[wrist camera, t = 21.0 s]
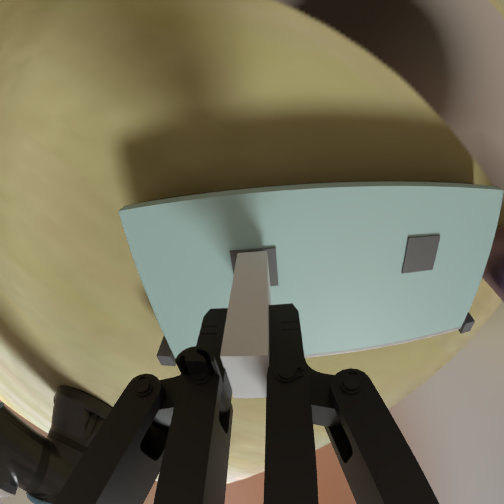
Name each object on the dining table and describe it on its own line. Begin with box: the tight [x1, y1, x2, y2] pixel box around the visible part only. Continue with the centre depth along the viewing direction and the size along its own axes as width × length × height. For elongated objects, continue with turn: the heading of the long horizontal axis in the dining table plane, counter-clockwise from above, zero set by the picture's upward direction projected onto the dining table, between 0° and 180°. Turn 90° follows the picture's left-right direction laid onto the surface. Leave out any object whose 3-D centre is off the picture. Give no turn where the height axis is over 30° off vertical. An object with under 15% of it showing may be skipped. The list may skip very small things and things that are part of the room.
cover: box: [119, 182, 504, 359], centre depth 16 cm, size 24×13×1 cm, turn 96°
